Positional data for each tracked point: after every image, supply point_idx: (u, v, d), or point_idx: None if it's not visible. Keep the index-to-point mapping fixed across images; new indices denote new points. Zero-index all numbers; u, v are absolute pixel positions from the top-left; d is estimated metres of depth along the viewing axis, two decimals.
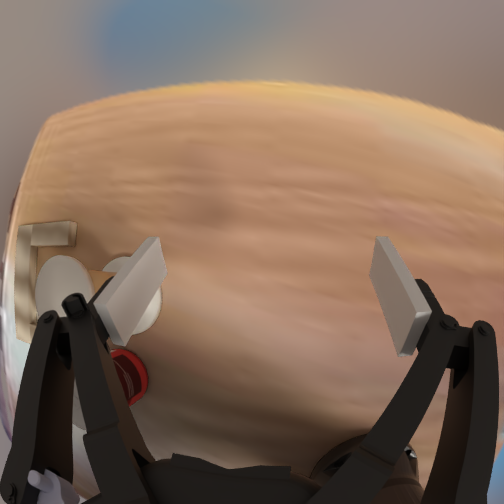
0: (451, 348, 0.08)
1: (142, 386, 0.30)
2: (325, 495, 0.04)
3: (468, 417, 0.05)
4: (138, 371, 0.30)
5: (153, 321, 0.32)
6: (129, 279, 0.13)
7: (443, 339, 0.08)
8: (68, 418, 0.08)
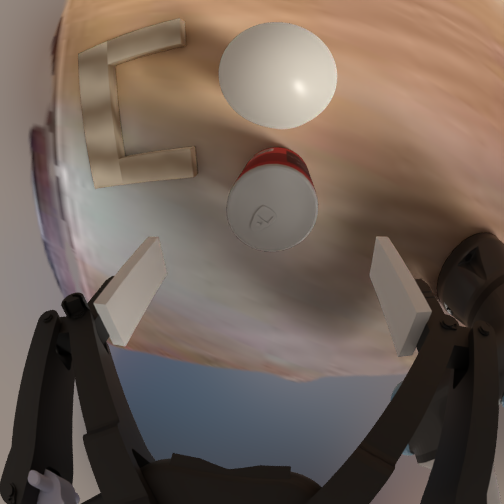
0: (451, 348, 0.08)
1: None
2: (325, 495, 0.04)
3: (468, 417, 0.05)
4: (306, 167, 0.29)
5: None
6: (129, 279, 0.13)
7: (443, 339, 0.08)
8: (68, 418, 0.08)
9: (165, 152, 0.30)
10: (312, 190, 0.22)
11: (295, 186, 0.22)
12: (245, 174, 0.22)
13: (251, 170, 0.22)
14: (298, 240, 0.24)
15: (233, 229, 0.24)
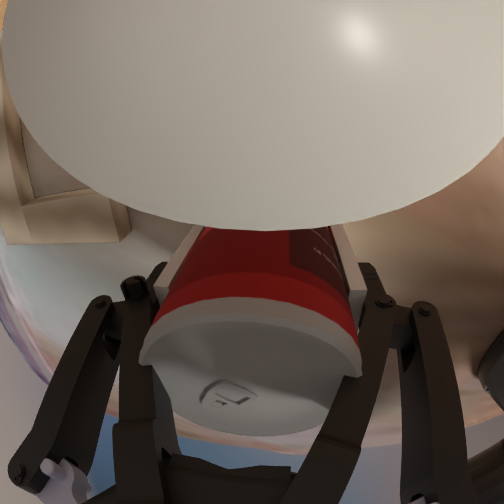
0: (391, 324, 0.09)
1: None
2: (298, 488, 0.04)
3: (426, 400, 0.06)
4: (328, 232, 0.15)
5: None
6: (184, 263, 0.14)
7: (381, 317, 0.10)
8: (101, 409, 0.08)
9: (73, 198, 0.16)
10: (356, 365, 0.07)
11: (311, 355, 0.07)
12: (166, 322, 0.07)
13: (181, 315, 0.07)
14: (305, 428, 0.09)
15: None
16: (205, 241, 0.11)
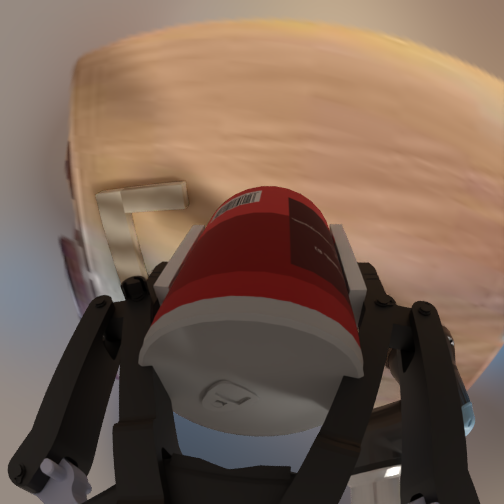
0: (391, 324, 0.09)
1: None
2: (298, 488, 0.04)
3: (426, 400, 0.06)
4: (329, 231, 0.15)
5: None
6: None
7: (380, 317, 0.10)
8: (101, 409, 0.08)
9: None
10: (357, 364, 0.07)
11: (312, 355, 0.07)
12: (166, 322, 0.07)
13: (181, 314, 0.07)
14: (306, 428, 0.09)
15: None
16: (205, 240, 0.11)
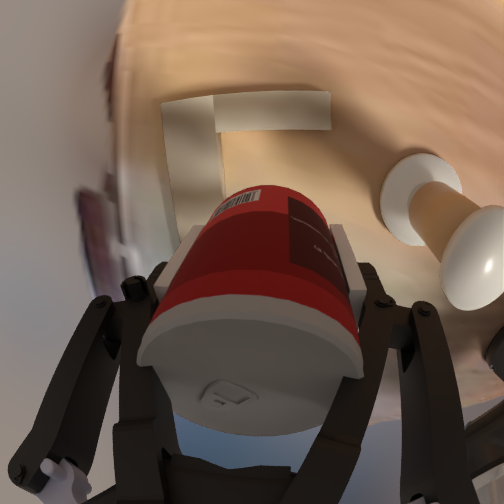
0: (391, 324, 0.09)
1: None
2: (298, 488, 0.04)
3: (426, 400, 0.06)
4: None
5: None
6: None
7: (380, 317, 0.10)
8: (101, 409, 0.08)
9: None
10: (357, 364, 0.07)
11: (312, 354, 0.07)
12: (164, 320, 0.07)
13: (179, 313, 0.07)
14: (305, 428, 0.09)
15: None
16: (204, 239, 0.11)
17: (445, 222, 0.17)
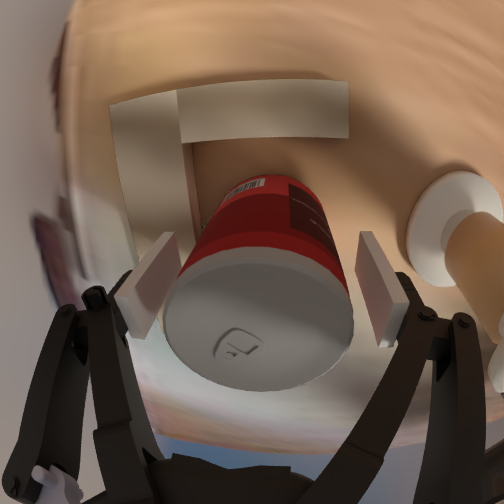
0: (431, 338, 0.08)
1: None
2: (316, 492, 0.04)
3: (454, 410, 0.06)
4: (324, 213, 0.17)
5: None
6: (148, 272, 0.13)
7: (421, 330, 0.09)
8: (79, 414, 0.08)
9: None
10: (347, 307, 0.09)
11: (309, 298, 0.10)
12: (192, 271, 0.09)
13: (204, 263, 0.09)
14: (306, 380, 0.12)
15: (183, 360, 0.12)
16: (219, 216, 0.13)
17: (503, 283, 0.10)
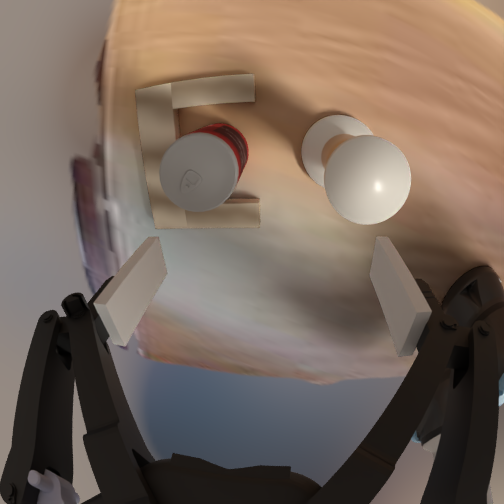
0: (451, 348, 0.08)
1: (247, 156, 0.32)
2: (325, 495, 0.04)
3: (468, 417, 0.05)
4: (243, 139, 0.31)
5: None
6: (129, 279, 0.13)
7: (443, 339, 0.08)
8: (68, 418, 0.08)
9: (234, 204, 0.36)
10: (230, 153, 0.24)
11: (216, 151, 0.24)
12: (173, 143, 0.24)
13: (178, 139, 0.23)
14: (222, 200, 0.26)
15: (165, 192, 0.26)
16: None
17: None
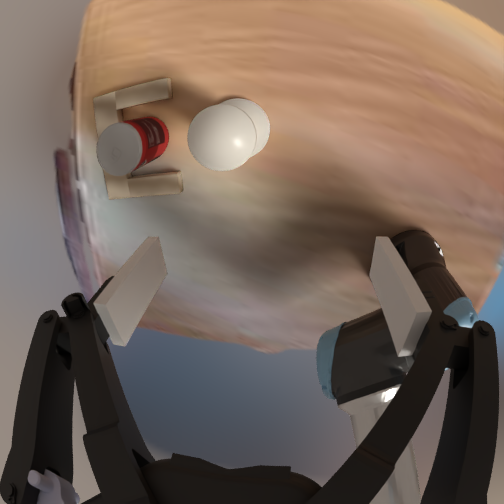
0: (451, 348, 0.08)
1: (165, 138, 0.41)
2: (325, 495, 0.04)
3: (468, 417, 0.05)
4: (161, 126, 0.40)
5: (264, 145, 0.41)
6: (129, 279, 0.13)
7: (443, 339, 0.08)
8: (68, 418, 0.08)
9: (160, 176, 0.44)
10: (135, 133, 0.32)
11: (127, 133, 0.32)
12: (103, 131, 0.32)
13: (106, 128, 0.32)
14: (133, 166, 0.35)
15: (100, 164, 0.35)
16: None
17: None
